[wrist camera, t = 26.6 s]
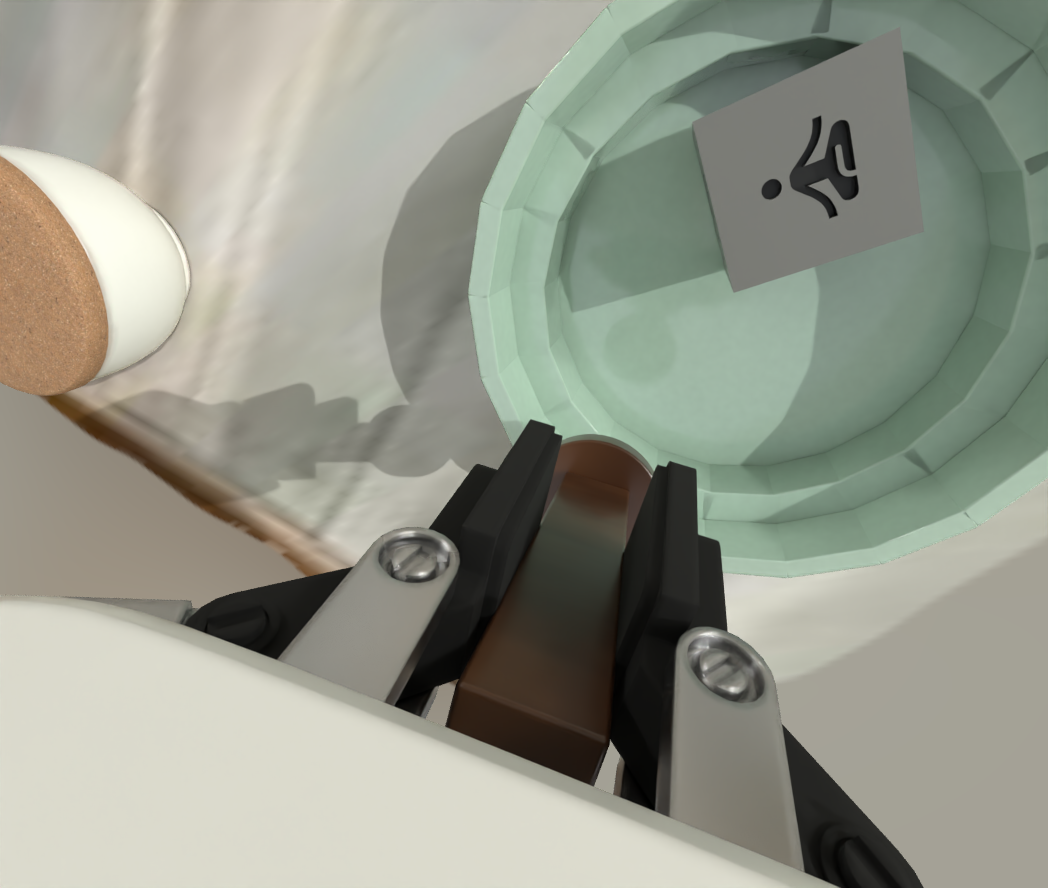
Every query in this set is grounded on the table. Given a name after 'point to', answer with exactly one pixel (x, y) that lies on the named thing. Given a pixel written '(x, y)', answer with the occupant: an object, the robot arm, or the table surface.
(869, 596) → the table surface
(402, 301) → the table surface
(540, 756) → the muddler
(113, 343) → the trinket box
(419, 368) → the table surface
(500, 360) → the bowl
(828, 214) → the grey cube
